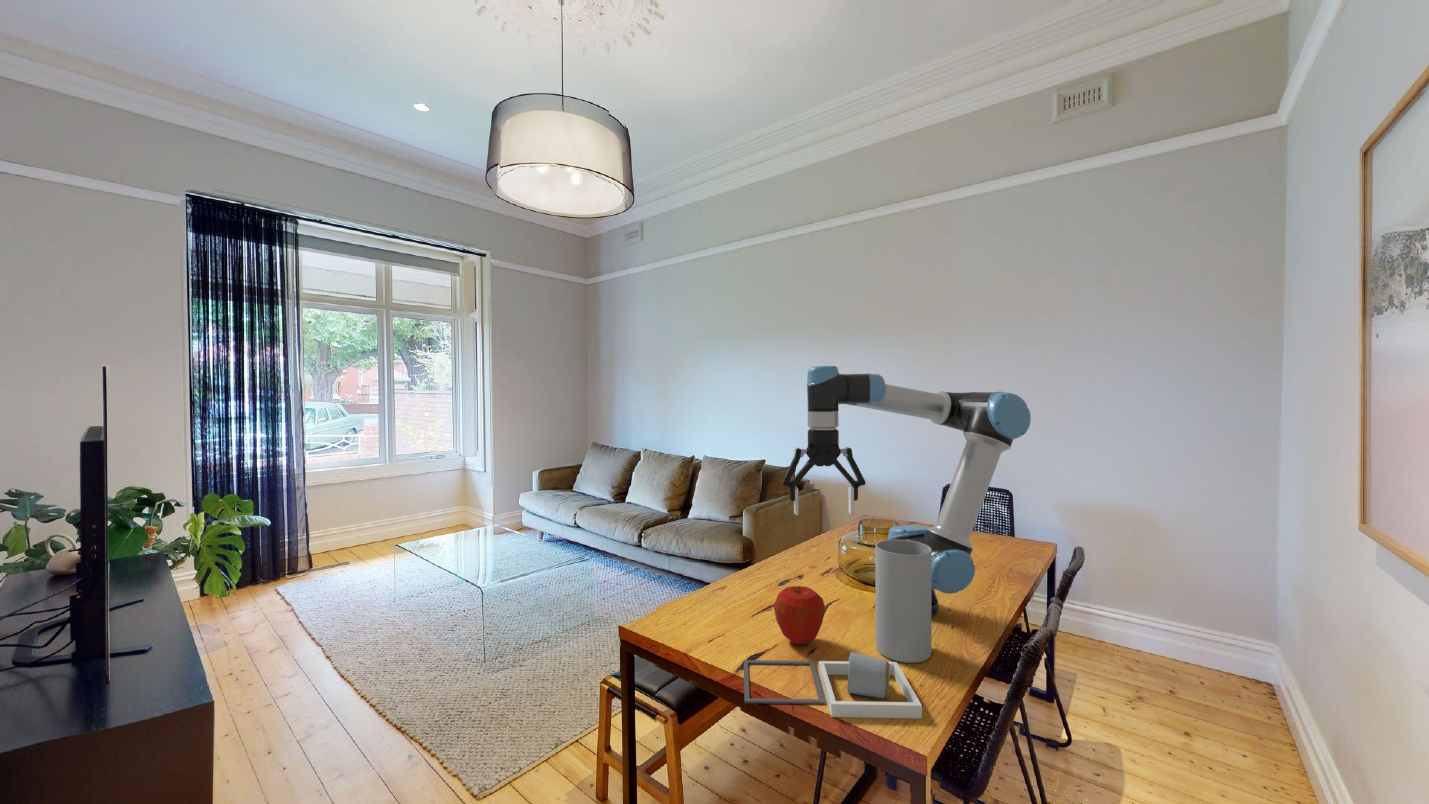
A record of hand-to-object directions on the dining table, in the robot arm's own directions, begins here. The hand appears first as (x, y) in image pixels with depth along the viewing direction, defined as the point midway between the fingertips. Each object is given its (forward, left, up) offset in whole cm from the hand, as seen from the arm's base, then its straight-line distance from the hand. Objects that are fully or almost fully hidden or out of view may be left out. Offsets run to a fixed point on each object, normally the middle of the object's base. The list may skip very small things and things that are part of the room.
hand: (823, 513), depth 131 cm
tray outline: (+12, +20, -32) cm, 39 cm away
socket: (-5, +22, -32) cm, 39 cm away
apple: (+6, +2, -32) cm, 32 cm away
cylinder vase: (-18, +6, -32) cm, 37 cm away
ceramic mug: (-5, +22, -32) cm, 39 cm away
